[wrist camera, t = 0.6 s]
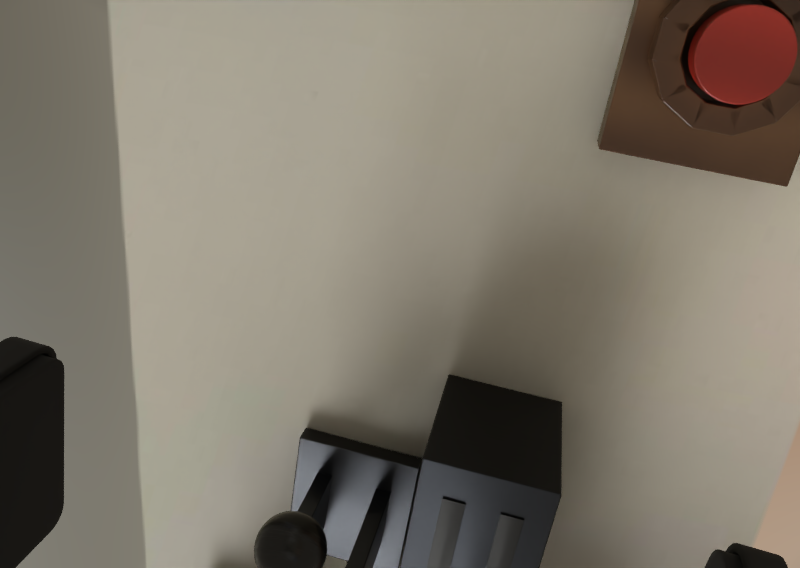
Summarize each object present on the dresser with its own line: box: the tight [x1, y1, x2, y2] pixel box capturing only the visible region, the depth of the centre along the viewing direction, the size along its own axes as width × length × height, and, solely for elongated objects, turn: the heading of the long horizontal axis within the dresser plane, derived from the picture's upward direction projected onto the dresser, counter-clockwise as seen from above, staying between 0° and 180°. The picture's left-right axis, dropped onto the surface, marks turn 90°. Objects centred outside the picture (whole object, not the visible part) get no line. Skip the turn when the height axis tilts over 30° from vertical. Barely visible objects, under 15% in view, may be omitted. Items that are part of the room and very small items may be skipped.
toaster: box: [400, 375, 562, 568], centre depth 43 cm, size 14×7×9 cm, turn 171°
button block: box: [597, 0, 800, 186], centre depth 33 cm, size 11×9×4 cm
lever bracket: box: [291, 428, 422, 568], centre depth 44 cm, size 9×8×13 cm
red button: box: [688, 4, 798, 105], centre depth 31 cm, size 4×4×2 cm
